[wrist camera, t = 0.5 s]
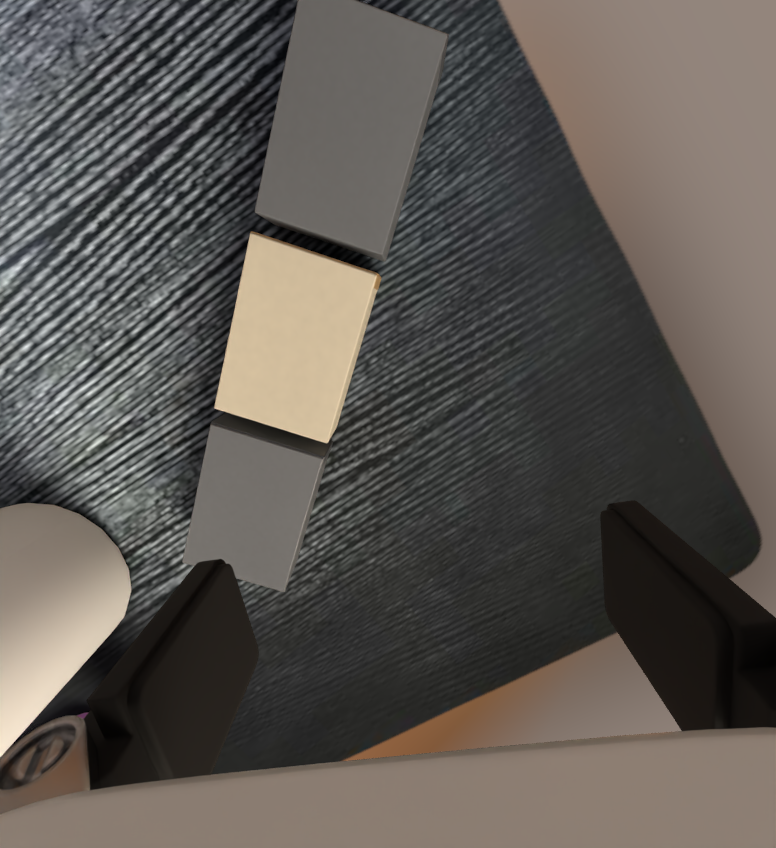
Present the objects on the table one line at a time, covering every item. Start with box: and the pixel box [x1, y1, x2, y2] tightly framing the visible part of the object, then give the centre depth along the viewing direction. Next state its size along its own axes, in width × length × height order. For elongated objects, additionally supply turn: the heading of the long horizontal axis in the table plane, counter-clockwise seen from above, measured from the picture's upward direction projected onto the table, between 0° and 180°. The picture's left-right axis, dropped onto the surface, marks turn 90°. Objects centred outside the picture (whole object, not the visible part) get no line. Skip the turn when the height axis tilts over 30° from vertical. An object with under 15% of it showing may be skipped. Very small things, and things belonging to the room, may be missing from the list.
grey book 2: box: [255, 0, 449, 262], centre depth 22 cm, size 10×7×4 cm
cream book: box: [214, 231, 381, 443], centre depth 25 cm, size 10×7×4 cm
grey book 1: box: [182, 413, 333, 592], centre depth 28 cm, size 10×7×4 cm
